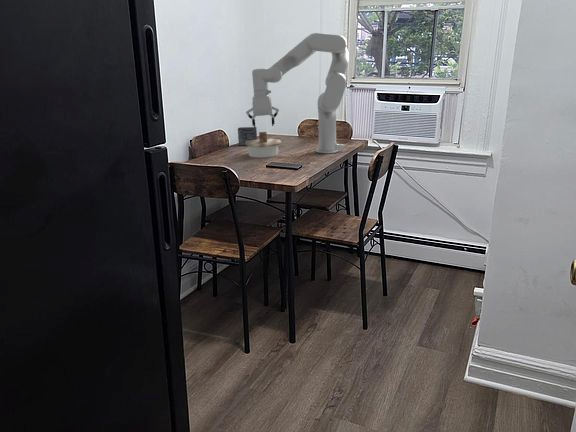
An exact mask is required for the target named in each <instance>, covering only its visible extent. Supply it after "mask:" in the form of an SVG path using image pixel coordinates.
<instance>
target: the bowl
mask: <svg viewBox="0 0 576 432" xmlns="http://www.w3.org/2000/svg"><path fill="white" fill-rule="evenodd" d="M247 147H248V148H247V151H248V157H250V158H256V159H257V158H258V159H259V158H260V159H265V158H273V157H277V156H278V155H279V145H276V146H269V147H251V146H247Z"/></svg>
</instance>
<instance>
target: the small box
mask: <svg viewBox="0 0 576 432" xmlns="http://www.w3.org/2000/svg"><path fill="white" fill-rule="evenodd" d="M257 132H258V131H257V126H255V127H254V126H247V127H245V126H244V127H243V126H241V127H237V135H238V136H237V137H238V138H237V139H238V147H248V146H247V145H246V142H247V141H250V140H256V139H258V133H257Z"/></svg>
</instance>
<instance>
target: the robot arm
mask: <svg viewBox="0 0 576 432" xmlns="http://www.w3.org/2000/svg"><path fill="white" fill-rule="evenodd" d="M347 45H348V41H347V39H346V38H345V37H344V36H343V35H341V34H326V33H319V32H314V33H311V34H309V35H308V36H306V37H305V38H304V39H302V41H300V42H299V43H298V44H297V45H295V46H294V47H293V48H292V49H290V50H289V51H288V52H287V53H286V54H285V55H284V56H282V58H280V59H278V60H277V61H276V62H275V63H274V64H272V65H271V67H269V68H266V69H265V68H256V69H255V68H254V69H252V71H251V77H252V86H253V96H252V104H251V105H252V107H251V108H250V109H248V110H246V112H245V113H246V115H247V116H248V118H249V119H251V123H252V124H251V125H252V127H256V120H255V118H256V117H262V116H263V117H264V116H270V117H271V126H272V127H274V125H275V118H276V117H277V116H278V113H279V112H280V109H279V108H277V107H274V106H272V98H271V96H270V95H269V94H271V93H272V90H269V85H268V83H271V84H274V83H276V84H277V83H279V82H280V81H281V80H282V77H283V76H284V75H286V74H287V73H288V72H290V71H291V70H292V69H294V68H296V67H299V66H300V65H301V64H303V63H304V62H305V61H306V60H308V58H309V57H311V56H312V55H314V54H315V53H316V52H322V53H323V52H324V53H331V63H330V67H329V70H328V73H327V75H326V77H325V81H324V82H325V86H326V87H325V90H324V92H322V93H321V94H320V95H319V96H318V98H317V113H318V119H317V120H318V147H317V148H316V149H315V152H316V153H317V154H318V153H319V154H335V153H339V152H340V149H341V148H342V149H345V148H346V145H345V143H343V144H342V143H338V142H337V109H339V107H340V104H341V103H342V100H343V96H344V93H345V91H346V87H347V78H346V76H345V75H346V71H347V68H348V65H349V59H350V58H349V57H350V56H349V51H348V48H347ZM273 111H275V112H274V113H273ZM251 112H252V114H253V115H252V114H250V113H251Z"/></svg>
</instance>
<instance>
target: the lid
mask: <svg viewBox="0 0 576 432" xmlns="http://www.w3.org/2000/svg"><path fill="white" fill-rule="evenodd" d="M267 135H268V133H267V131H259V132H258V138H257V139H256V140H250V141H247V142H246V145H247V146H246V147H248V146H251V147H269V146H276V145H278V146H279V145H281V144H282V141H281V140H280V139H276V138H275V139H274V138H268V136H267Z"/></svg>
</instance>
